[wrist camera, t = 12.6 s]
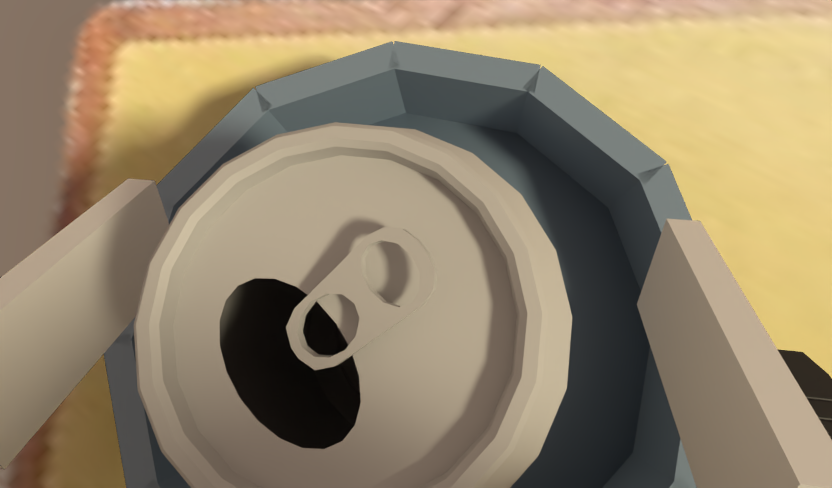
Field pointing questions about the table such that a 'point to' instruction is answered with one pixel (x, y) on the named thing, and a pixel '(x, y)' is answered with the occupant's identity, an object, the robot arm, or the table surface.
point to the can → (353, 319)
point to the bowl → (548, 200)
